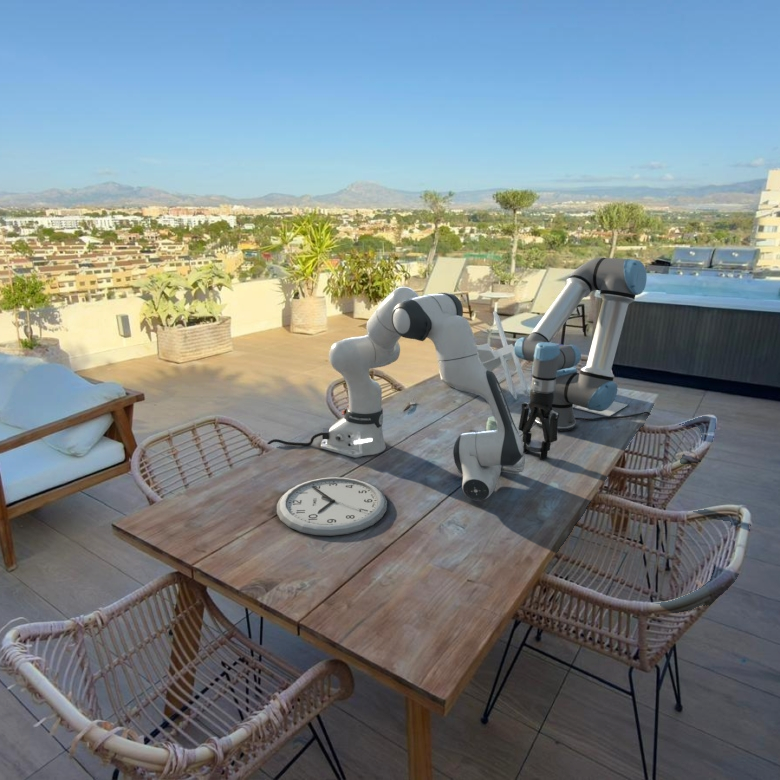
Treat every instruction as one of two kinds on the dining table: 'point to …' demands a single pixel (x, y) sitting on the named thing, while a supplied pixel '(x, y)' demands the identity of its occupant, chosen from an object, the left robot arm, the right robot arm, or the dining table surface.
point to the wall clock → (331, 506)
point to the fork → (411, 403)
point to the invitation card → (609, 411)
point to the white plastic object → (501, 359)
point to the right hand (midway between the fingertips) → (534, 455)
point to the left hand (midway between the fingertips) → (494, 448)
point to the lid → (534, 446)
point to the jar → (491, 424)
